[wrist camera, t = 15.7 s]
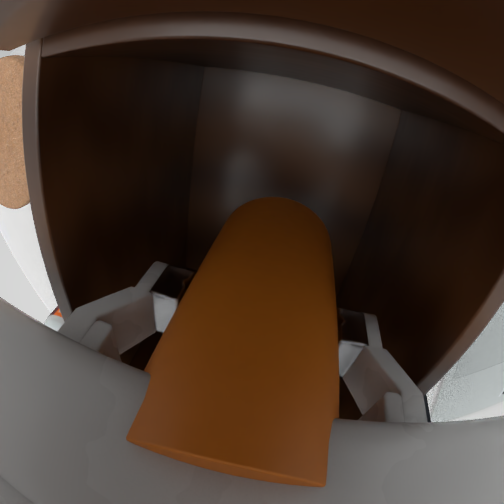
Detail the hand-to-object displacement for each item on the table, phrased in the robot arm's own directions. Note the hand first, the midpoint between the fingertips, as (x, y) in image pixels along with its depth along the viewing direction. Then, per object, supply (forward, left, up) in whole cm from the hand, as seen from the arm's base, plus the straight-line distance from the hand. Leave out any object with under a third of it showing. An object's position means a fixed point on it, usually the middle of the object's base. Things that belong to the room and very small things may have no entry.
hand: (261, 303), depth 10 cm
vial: (0, 0, -4) cm, 4 cm away
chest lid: (+10, 0, +12) cm, 15 cm away
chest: (0, 0, -11) cm, 11 cm away
